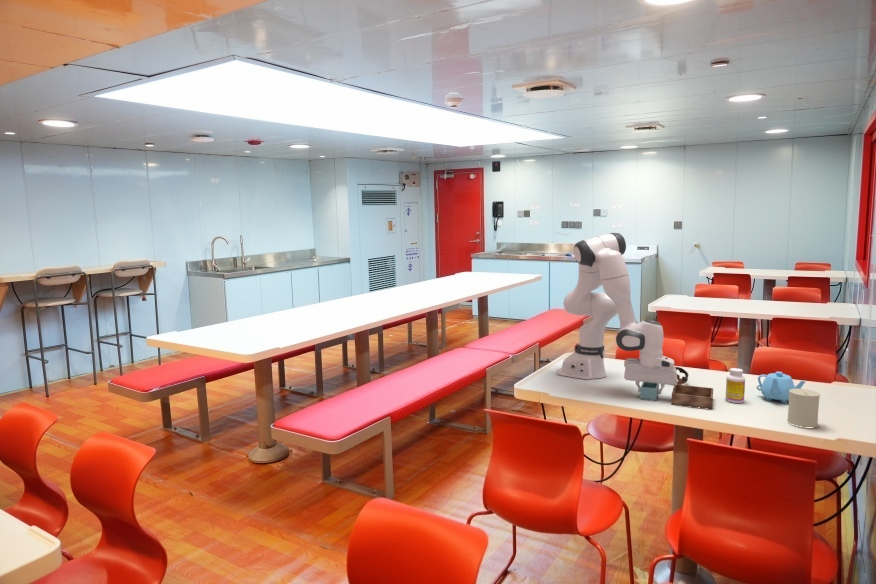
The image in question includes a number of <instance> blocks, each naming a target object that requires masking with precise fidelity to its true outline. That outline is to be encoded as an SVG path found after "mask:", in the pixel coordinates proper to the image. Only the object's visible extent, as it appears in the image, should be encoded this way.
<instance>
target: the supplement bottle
mask: <svg viewBox="0 0 876 584" xmlns="http://www.w3.org/2000/svg"><path fill="white" fill-rule="evenodd" d="M743 374H744V370H743V369H742V368H737V367H732V368H729V374H727V375H726V381H725V401H727V402H729V403H733V404H741V403H742V404H743V403H744V402H745V390H746V389H745V387H746V378H745V376H743Z"/></svg>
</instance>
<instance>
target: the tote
mask: <svg viewBox="0 0 876 584" xmlns="http://www.w3.org/2000/svg"><path fill="white" fill-rule="evenodd" d="M641 383H642V384H641V385H640V387H641V390H640V392H639V393H640V395H639V399H640V400H644V401H651V400H652V401H651V402H656V401H657V399H658V397H659V395H660V394H657V390H658V389H660V384H657V383H648V382H641Z"/></svg>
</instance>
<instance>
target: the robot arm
mask: <svg viewBox="0 0 876 584" xmlns="http://www.w3.org/2000/svg"><path fill="white" fill-rule="evenodd" d="M626 249H627V242H626V240H625V238H624V236H623V235H622V234H621V233H618V232H610V233H608V234H607V233H606V234H599V235H596V236H594V237H590V238H587V239H584V240H580V241H578V242H576V243H575V244H574V246H573V256H574V259H575V261H576V262H577V263H578V280H577V284H576V286H575V287H574V288H573V290H571V291H570V292H568V293H567V294H566V295H565V297H564V299H563V308H564V310H565V312H566V313H567V314H571V315H575V316H586V317H593V319H592V320H590V321H589V322H587V323H584V324H583V325H582V326H580V327H579V330H578V342H577V343H575V345H574V348H573V349H574V352H573V353H571V354H569V355H568V356H567V357H565V358H564V359H563V361H562V363H561V367H560V368H558V369H557V370H556V374H557V375H559V376H563V377H568V378H569V377H570V378H574V379H575V378H576V379H580V380H585V381H586V380H595V379H603V378H605V377H607V373H606V368H605V361H604V359H605V358H604V357H605V345H604V341H605V339H604V337H605V330H606V327H607V325H608V323H609V322H610V320H612V319H613V318H614V317H615V316H618V319H619V323H620V326H619V330H618V332H617V334H616V337H615V343H616V345H617V346H618V348H620V349H621V350H622V351H624V352H633V351H634V352H636V351H639V357H638V358H634V357H633V358H632V357H628V358H626V359H625V360H624V362H623V365H624V368H625V370H624V374H623V375H624V376H623V378H624V379H625V380H626V381H630V382H631V381H632V382H634V383H635V385H636V387H637V392H638V393H640V390H641V385H640V383H643V382H648V383H657V384H659V385H660V387H659V389H658V390H657V394H659V395H662V392H663V389H665V386H666V385H667V386H669V385H670V386H674V385H675V384H677V383H678V380H677V374H678V373H677V370H676V368H675V367H676V366H675V360H674V359H672V358H670V357H668V356H666V355H663V354H664V352H663V345H664V329H663V325H662V323H660V322H659V321H656V320H654V319H653V320H652V319H642V321H640V322H638V321H637V320H636V318H635V317H636V316H635V313H634V309H633V305H632V301H631V281H630V280H631V279H630V275H629V272H628V267H627V264H626V262H625V259H624V257H623V256H624V254H625V252H626ZM601 286H602V288H603V291H604V292H600V291H599V292H595V291H594V290H597V289H599V288H601ZM593 291H594V292H593Z"/></svg>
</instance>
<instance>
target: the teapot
mask: <svg viewBox="0 0 876 584" xmlns="http://www.w3.org/2000/svg"><path fill="white" fill-rule="evenodd" d="M762 377H765V378H764V379H763V381H762V382H761V378H762ZM757 381H758V384H759V385H757V386H756V389H757V391H759V392H760V391H761V395H762V396H763V397H764V398H765V399H764V400H765V401H766V400H768V402H770V401H771V402H772V400H777V401H780V404H784V403H787V404H788V402H789V390H790V389H802V387H803V386H804V384H806V381H805V380H800V382H798V384H797V385H795V384H794V380H793V378H792V376H790V375H789V374H786V373H783V371H775V373H774V372H772V373H768V374H763V373H762V374H760V375H759V376H758V377H757Z"/></svg>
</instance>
